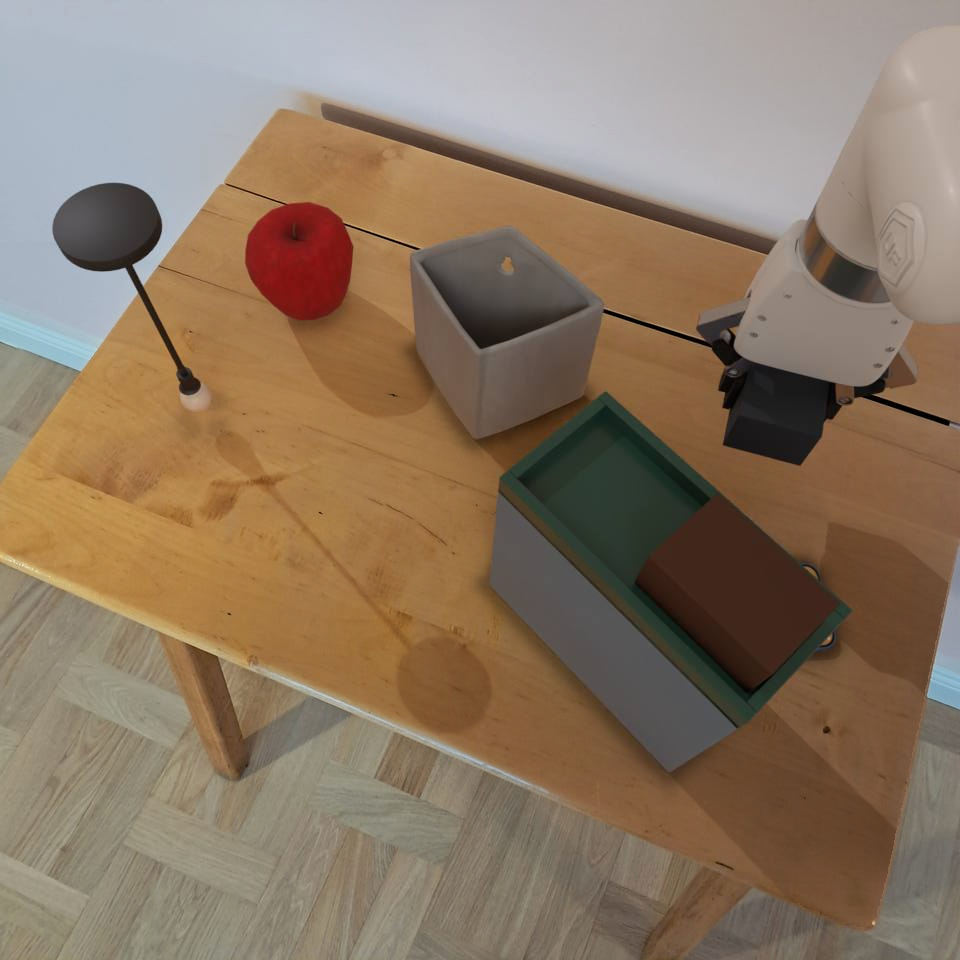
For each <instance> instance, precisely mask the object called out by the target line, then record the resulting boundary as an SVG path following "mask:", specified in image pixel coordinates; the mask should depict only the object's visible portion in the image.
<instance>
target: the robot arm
mask: <svg viewBox="0 0 960 960" xmlns="http://www.w3.org/2000/svg"><path fill="white" fill-rule="evenodd" d="M914 322H915V323H918V324H923V325H931V326H942V325H956V324H960V24H951V25H950V24H948V25H939V26H934V27H930V28H927V29H924V30H922V31H919V32H917V33H915V34H913V35H911V36H910V37H909V38H907V39H905V40H904V41H903V42H902V43H901V44H899V45H898V46H897V47H896V49H894V51H893V52H892V53H891V55H890V56H889V57H888V58H887V60H886V61H885V63H884V65H883V66H882V68H881V71H880V72H879V75H878V76H877V78H876V80H875V82H874V84H873V86H872V88H871V91H870V92H869V95H868V96H867V98H866V101H865V103H864V104H863V107H862V109H861V110H860V113H859V115H858V116H857V119H856V121H855V123H854V125H853V127H852V129H851V131H850V133H849V135H848V137H847V139H846V141H845V143H844V145H843V147H842V149H841V151H840V153H839V155H838V157H837V159H836V162H835V163H834V165H833V168H832V170H831V172H830V174H829V175H828V178H827V180H826V182H825V184H824V185H823V188H822V190H821V192H820V194H819V196H818V198H817V200H816V202H815V204H814V206H813V208H812V211H811V212H810V214H809V217H808V218H807V219H799V220H796V221H795V222H794V223H792V224H791V225H790V226H789V227H788V229H786V230H785V232H784V233H783V234H782V235H781V236H780V237H779V239H778V240H777V242H776V243H775V244H774V245H773V247H772V248H771V250H770V251H769V253H768V254H767V256H766V258H765V259H764V261H763V262H762V264H761V266H760V267H759V269H758V271H757V272H756V274H755V275H754V277H753V279H752V281H751V283H750V285H749V286H748V288H747V290H746V291H745V294H744V297H743V298H742V299H738V300H735V301H732V302H729V303H725V304H723V305H720V306H717V307H714V308H711V309H707V310H704V311H701V312H700V313H699V314H698V317H697V322H696V326H695V330H696V332H697V333H698V334H699V335H700V336H701V338H703V340H704V341H705V342H706V343H707V344H709V345H710V346H711V351H712V352H713V354H714V355H715V356H716V357H717V359H718V360H719V361H720V362H721V363H722V364H723V365H724V369H723V371H722V374H721V376H720V379H719V383H718V388H717V391H718V392H720V393H724V396H723V401H722V407H721V409H724V410H728V411H729V410H730V408H732V406H733V404H734V403H735V401H736V399H737V397H738V395H739V393H740V391H741V389H742V387H743V385H744V383H745V379H746V374H747V371H749V370H750V369H752V368H753V367H755V366H756V365H758V364H763V365H767V366H770V367H774V368H778V369H782V370H786V371H790V372H794V373H797V374H801V375H805V376H809V377H814V378H818V379H822V380H826V381H830V384H829V391H828V398H827V405H826V412H825V419H824V423H826V421H827V420H830V421H833V419H834V418H835V417H836V416H837V414H838V413H839V412H840V410H841V409H842V407H847V406H851V405H853V404H854V402H855V399H858V398H864V397H869V396H872V395H878V394H881V393H883V392H885V390H886V389H896V388H897V389H898V388H901V387H907V386H912V385H914V384H916V383H917V382H918V374H919V373H918V372H919V365H918V363H917V361H916V360H915V359H914V357H913V356H912V354H911V353H910V351H909V349H908V348H907V347H906V345H905V344H904V342H905V340H906V338H907V336H908V335H909V333H910V330H911V329H912V327H913V324H914ZM734 328H737V329H736V333H734V332H733V331H732V329H734Z"/></svg>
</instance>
